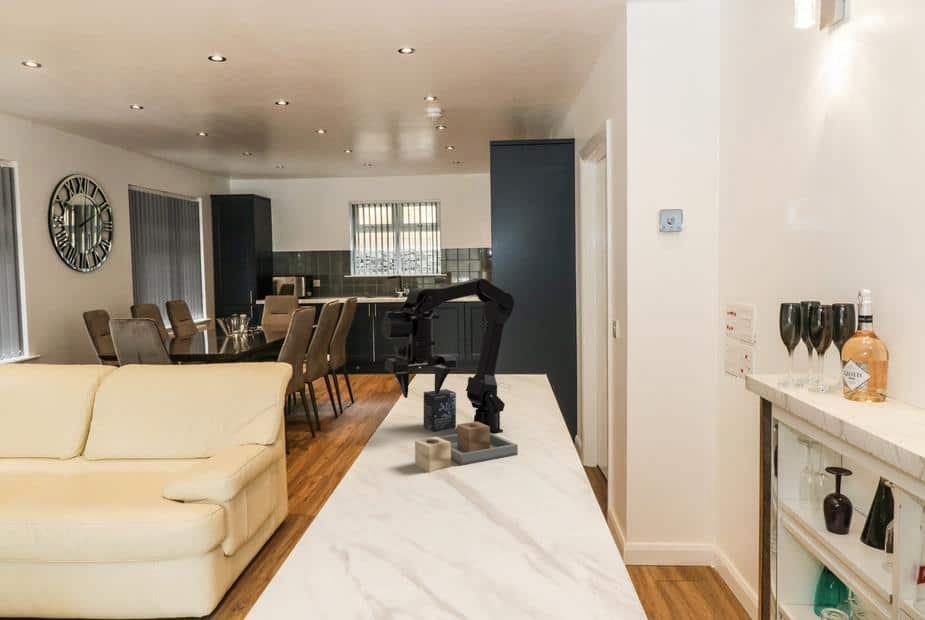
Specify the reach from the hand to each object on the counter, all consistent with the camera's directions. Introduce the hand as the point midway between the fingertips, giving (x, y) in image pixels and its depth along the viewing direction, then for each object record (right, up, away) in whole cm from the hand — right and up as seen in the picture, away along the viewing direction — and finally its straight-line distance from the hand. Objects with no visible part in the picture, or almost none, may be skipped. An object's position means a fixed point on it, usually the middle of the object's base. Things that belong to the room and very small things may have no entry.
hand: (421, 395), depth 166 cm
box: (+4, -12, +16) cm, 21 cm away
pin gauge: (+6, -13, +2) cm, 14 cm away
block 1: (+4, -14, -17) cm, 23 cm away
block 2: (+14, -13, -6) cm, 20 cm away
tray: (+14, -13, -6) cm, 20 cm away
